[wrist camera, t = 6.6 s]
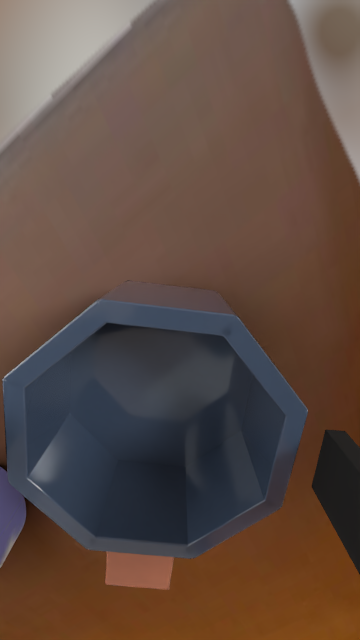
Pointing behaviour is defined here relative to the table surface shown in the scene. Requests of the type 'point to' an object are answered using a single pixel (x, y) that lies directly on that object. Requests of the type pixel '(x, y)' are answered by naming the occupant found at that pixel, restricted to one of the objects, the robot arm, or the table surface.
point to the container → (9, 515)
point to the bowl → (151, 429)
